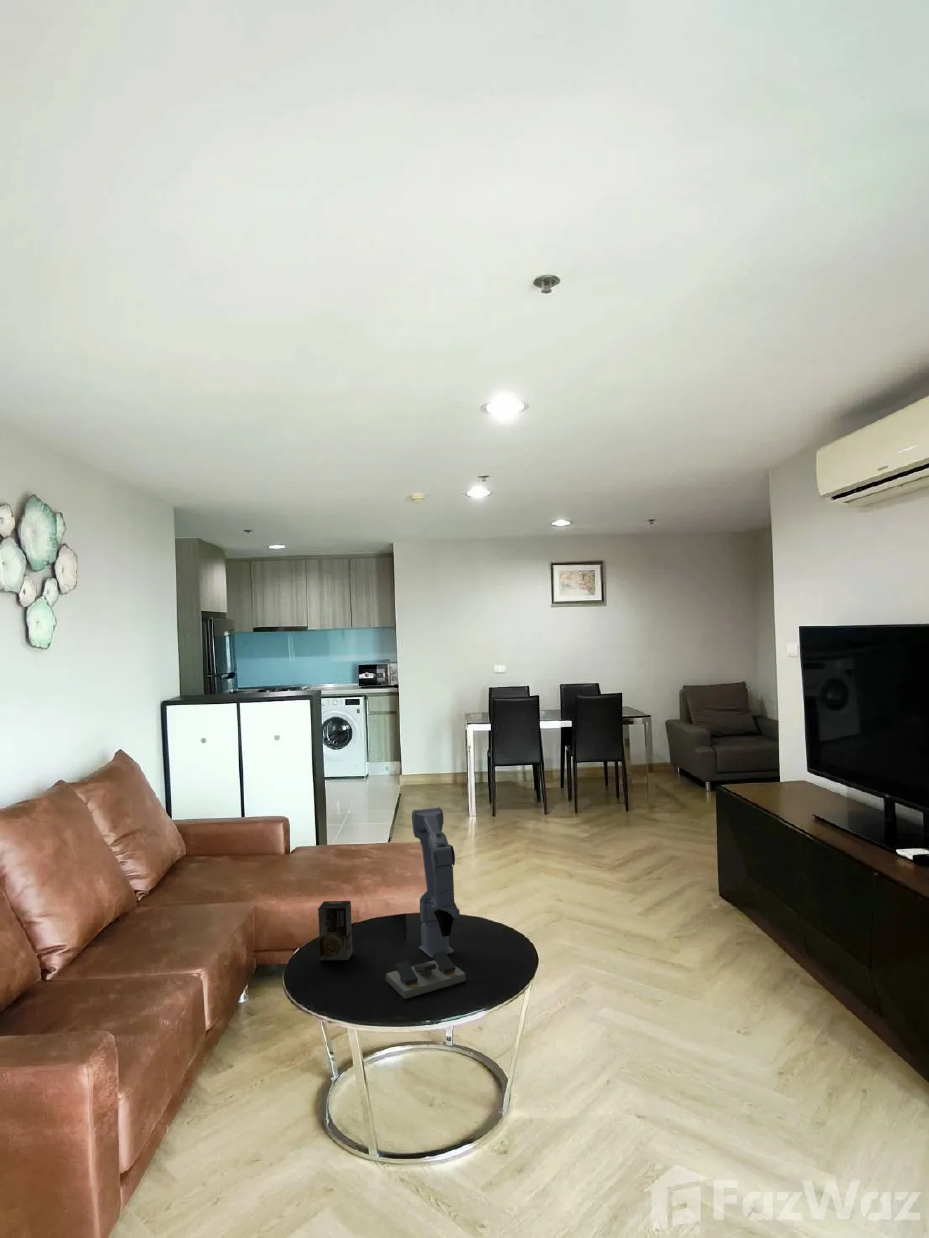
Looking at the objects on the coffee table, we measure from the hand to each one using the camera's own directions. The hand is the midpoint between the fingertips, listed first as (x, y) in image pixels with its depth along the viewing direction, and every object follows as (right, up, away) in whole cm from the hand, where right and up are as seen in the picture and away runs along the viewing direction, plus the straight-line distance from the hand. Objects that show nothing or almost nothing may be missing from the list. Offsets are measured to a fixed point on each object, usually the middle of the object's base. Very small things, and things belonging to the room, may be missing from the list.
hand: (446, 935), depth 208 cm
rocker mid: (-6, -7, -6) cm, 11 cm away
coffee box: (-35, -13, +13) cm, 39 cm away
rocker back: (-1, -7, -3) cm, 7 cm away
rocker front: (-11, -7, -9) cm, 16 cm away
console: (-6, -10, -6) cm, 13 cm away
